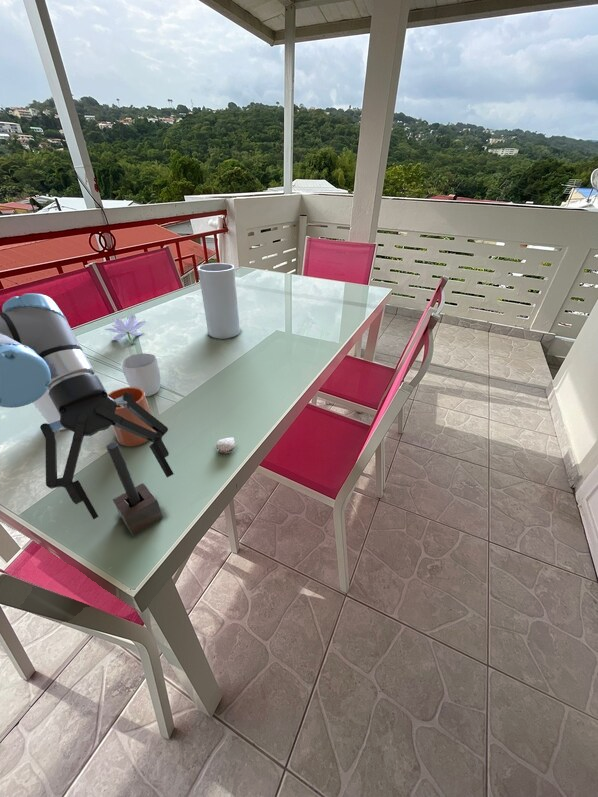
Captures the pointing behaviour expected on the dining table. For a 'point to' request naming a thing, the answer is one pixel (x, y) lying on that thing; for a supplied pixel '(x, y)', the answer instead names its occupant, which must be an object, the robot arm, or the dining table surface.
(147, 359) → the mug
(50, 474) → the robot arm
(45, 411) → the foam cup
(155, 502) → the holder
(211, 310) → the cylinder vase
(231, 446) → the white seashell
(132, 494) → the rod
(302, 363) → the dining table surface
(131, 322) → the water lily
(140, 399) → the tumbler
